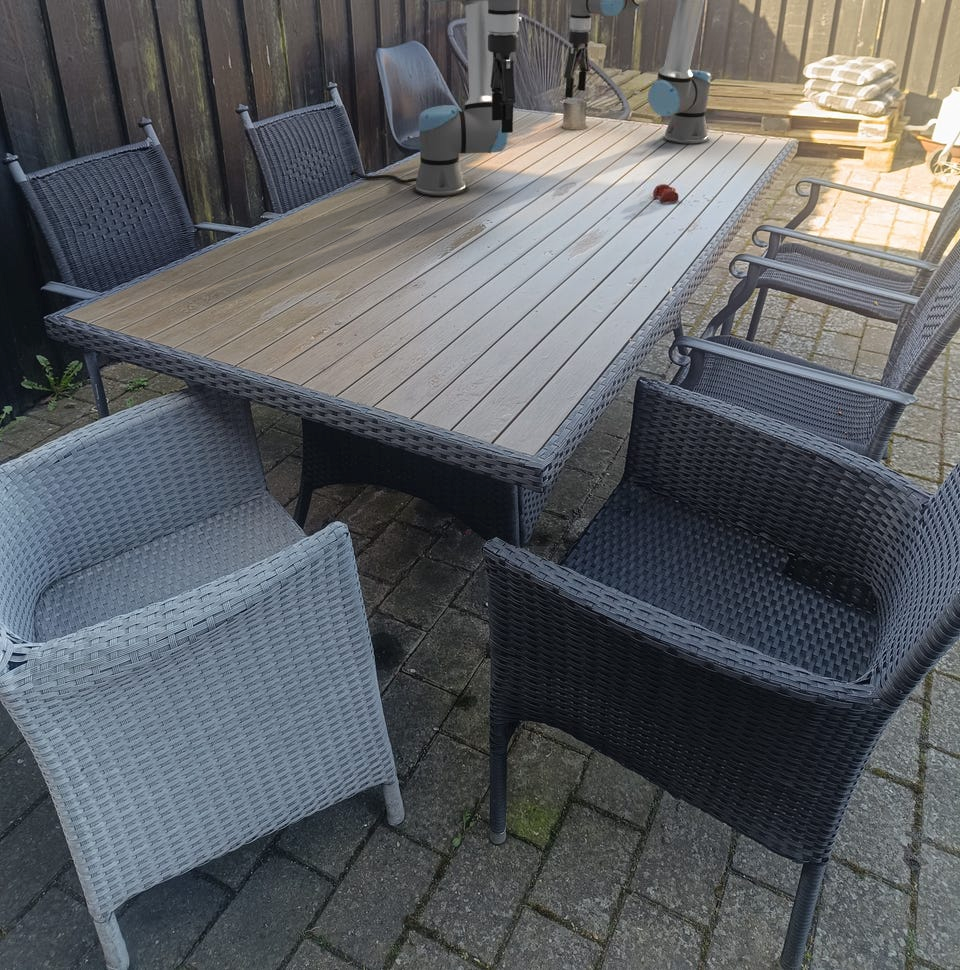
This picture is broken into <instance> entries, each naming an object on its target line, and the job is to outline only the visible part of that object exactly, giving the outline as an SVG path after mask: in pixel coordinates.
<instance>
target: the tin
mask: <svg viewBox="0 0 960 970" xmlns="http://www.w3.org/2000/svg"><path fill="white" fill-rule="evenodd" d="M587 107H588V101H587V100H585V99H579V98H568V99H565V100H564V101H563V113H562V114H563V115H562V128H563V129H564V130H565V129H566V130H569V131H579V130H584V129H586V125H587V124H586V122H587V109H588V108H587Z"/></svg>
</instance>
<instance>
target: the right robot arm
mask: <svg viewBox="0 0 960 970" xmlns="http://www.w3.org/2000/svg"><path fill="white" fill-rule="evenodd" d="M648 2H650V0H571V1H570V17H569V18H570V19H568V22H569V29H570V31H569V33H568V42H569V43H570V44H572V47H569V48H568V56H567V61H566V65H565V70H564V74H563V78H564V79H566V81H565V95H564V96H565V98H568V99H574V88H575V87H574V86H575V78H574V77H575V73H576V69H577V66H579V70H580V71H579V72H578V81H577V82H578V84H577V91H580V92H581V91H583V92H585V91H586V84H587V73H589V72H590V61H589V59H590V58H589V43H590V41H591V40H590V39H591V32H590V30H591V28H592V27H591V26H592V15H593V14H595V15H601V16H606V17H616V16H618V15H619V13H625V12H633V11H636V10H637V9H639V8H640V6H641V5H643V4H645V3H648ZM704 3H705V0H676V5H675V10H674V15H673V19H672V25H671V29H670V35H669V41H668V46H667V49H666V55H665V61H664V65H663V66H662V67H661V68H659V69H658V72H657V78H656V81H654V82H653V84H651V85H650V87H649V89H648V92H647V100H648V105H649V107H650V108H651V110H652V111H653V113H654V114H656V115H657V116H660V117H671V118H670V120H669V123H668V124H667V128H666V130H665V133H664V140H666V141H668V142H671V143H676V144H684V145H685V144H686V145H693V144H694V145H695V144H701V143H705V142H707V141H708V129H709V126H707V122H706V121H707V120H706V113H707V108H708V100H709V94H710V86H711V78H712V77H711V76H712V75H711V73H710V72H709V71H704V70H697V69H691V64H692V60H693V55H694V50H695V45H696V40H697V36H698V32H699V27H700V22H701V18H702V13H703V8H704Z"/></svg>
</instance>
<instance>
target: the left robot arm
mask: <svg viewBox="0 0 960 970" xmlns="http://www.w3.org/2000/svg"><path fill="white" fill-rule="evenodd" d="M426 2H435V3H440V2H460V3H461V4H462V5H463V7H464V9H465V26H466V28H465V29H466V48H467V49H466V51H467V72H468V73H467V74H468V76H467V77H468V94H469V95H468V99H467V101H466V102H465V103H464V110H459V107H458V106H457V105H454V104H450V105H449V104H442V105H437V106H433V107H429V108H427V109H425V110H423V111H422V112H421V113H420V114H419V117H418V118H419V119H418V120H419V121H418V132H419V157H420V158H419V159H420V161H419V162H420V164H419V168H418V172H417V176H416V177H414V178H408V179H403V178H400V177H398V176H396V175H394V174H375V175H364V174H361V173H360V172H359V171H358V170H355V169H353V170H351V171H350V172H349V176H353V175H357V176H358V177H359V178H361V179H363V180H377V179H392V180H395V181H397V182H399V183H402V184H408V183H414V182H415V185H414V186H415V192H417V193H418V194H420V195H424V196H430V197H450V196H455V195H459V194H461V193H463V192H464V191H466V181H465V179H464V172H462V169H461V165H460V154H487V153H488V154H491V153H500V152H501V153H502V152H503V151H504V150H505V149H506V146H507V144H508V140H509V139H508V138H509V133H512V134H513V132H514V104H516V92H515V89H516V88H515V76H514V75H515V74H514V63H515V62H514V59H513V58H511V54H512V53H516V52H518V51H519V47H520V46H519V41H520V40H519V39H520V38H519V37H520V35H519V34H518V32H519V29H520V23H519V22H522V17H521V16H520V0H426Z"/></svg>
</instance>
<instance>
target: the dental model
mask: <svg viewBox="0 0 960 970" xmlns="http://www.w3.org/2000/svg"><path fill="white" fill-rule="evenodd" d="M652 198H659V203H671V202H672V203H673V202H678V201H679V193H678V192H677V189H676V188H674V187H673V186H670V185H669V184H666V183H663V184H662V183H661V184H658V185H656V187H655V188H654V189H653V192H652Z"/></svg>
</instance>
